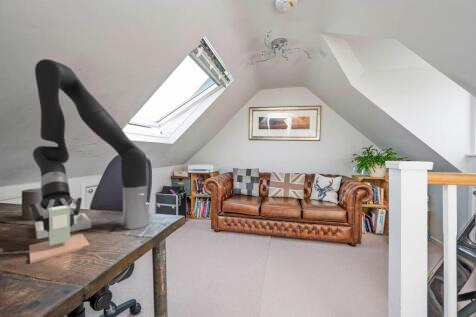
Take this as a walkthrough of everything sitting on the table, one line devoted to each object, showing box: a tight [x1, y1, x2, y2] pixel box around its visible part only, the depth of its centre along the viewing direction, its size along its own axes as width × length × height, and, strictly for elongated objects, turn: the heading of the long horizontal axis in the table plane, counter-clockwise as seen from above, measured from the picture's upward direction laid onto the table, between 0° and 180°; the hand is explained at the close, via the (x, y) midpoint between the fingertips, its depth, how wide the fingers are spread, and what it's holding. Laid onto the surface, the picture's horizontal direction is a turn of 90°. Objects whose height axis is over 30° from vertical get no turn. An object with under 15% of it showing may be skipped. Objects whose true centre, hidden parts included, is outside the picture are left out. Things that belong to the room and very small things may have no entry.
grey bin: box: [34, 212, 92, 240], centre depth 83 cm, size 16×16×4 cm
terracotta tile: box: [28, 232, 91, 264], centre depth 67 cm, size 14×14×1 cm
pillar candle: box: [21, 186, 46, 222], centre depth 99 cm, size 10×10×15 cm
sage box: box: [48, 205, 71, 245], centre depth 67 cm, size 5×5×11 cm
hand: (59, 227), depth 66 cm, fingers closed on sage box, 5 cm apart
